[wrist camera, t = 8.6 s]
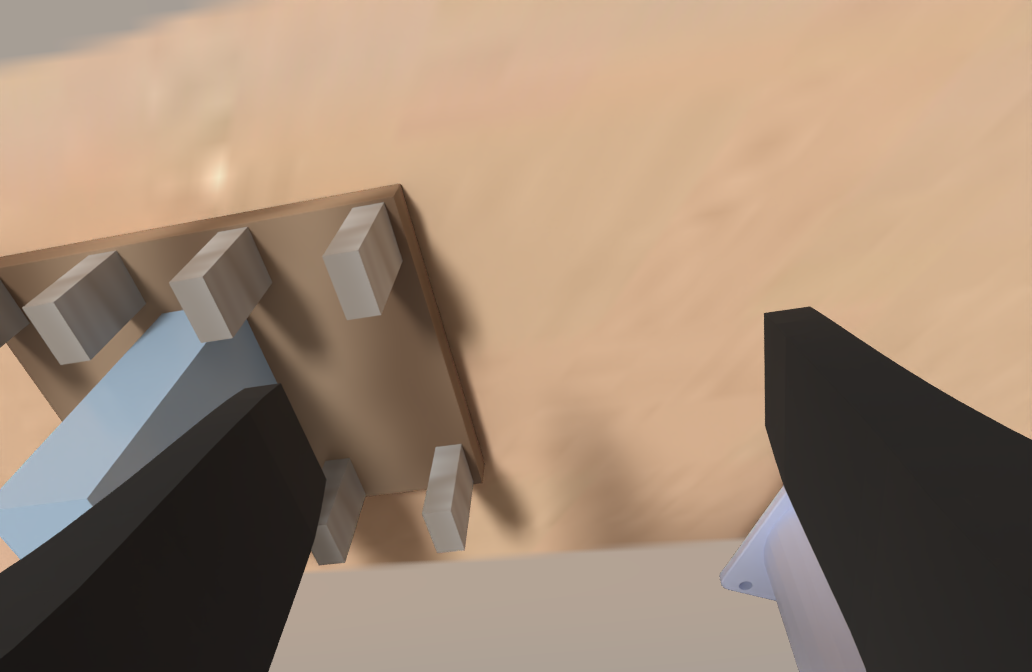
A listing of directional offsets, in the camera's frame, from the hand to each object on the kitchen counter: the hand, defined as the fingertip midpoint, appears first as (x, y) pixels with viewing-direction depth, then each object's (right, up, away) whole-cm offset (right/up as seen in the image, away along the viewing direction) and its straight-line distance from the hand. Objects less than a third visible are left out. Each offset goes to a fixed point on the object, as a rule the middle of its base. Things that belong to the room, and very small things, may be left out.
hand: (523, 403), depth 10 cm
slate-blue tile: (-9, -1, +12) cm, 15 cm away
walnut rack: (-9, 0, +13) cm, 16 cm away
